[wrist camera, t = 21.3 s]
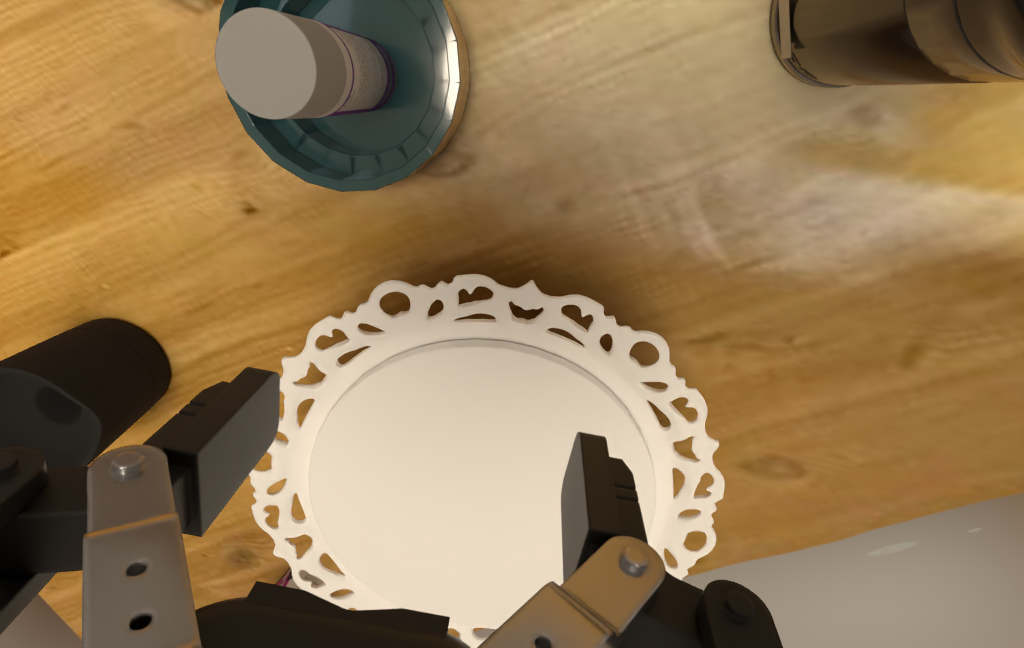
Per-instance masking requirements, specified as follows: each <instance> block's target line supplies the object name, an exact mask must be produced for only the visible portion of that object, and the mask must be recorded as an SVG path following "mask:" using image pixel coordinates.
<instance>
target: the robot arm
mask: <svg viewBox="0 0 1024 648" xmlns="http://www.w3.org/2000/svg"><path fill="white" fill-rule="evenodd" d="M770 26H771V36H772V41H773V45H774V48H775V51H776V53H777V55H778V57H779V59H780V61H781V62H782V64H783V65H784V67H785V68H786V69H787V70H788V71H789V72H790V73H791V74H792V75H793V76H795V77H796V78H797V79H799V80H801V81H803V82H805V83H807V84H810V85H814V86H818V87H828V88H832V87H846V86H852V85H909V84H956V83H991V82H1024V0H773V4H772V10H771V22H770ZM279 400H280V377H279V374H278V373H277V372H272V371H267V370H262V369H256V368H251V367H247V368H245V369H244V370H243V371H242V372H241V373H240V374H239V375H238V376H237V377H236V378H235V379H234V380H233V381H232V382H231V383H228V382H223V381H222V382H220V383H218V384H216V385H213V386H211V387H209V388H207V389H204V390H203V391H202V392H200V393H199V394H198V395H197V396H196V397H195V398H194V399H193V400H191V401H190V404H187V405H186V406H185V407H184V408H183V409H181V410H180V412H179V414H176V415H175V416H174V417H172V418H171V419H170V420H169V421H168V422H167V423H166V424H165V425H164V426H162V427H161V428H160V429H159V430H158V431H157V432H156V433H155V434H153V435H152V436H151V437H150V438H149V439H148V440H147V441H146V442H144V443H143V444H142V445H130V446H124V447H120V448H116V449H113V450H111V451H108V452H106V453H104V454H102V455H101V456H99V457H98V458H96V459H95V460H94V461H93V462H92V463H91V465H90V466H88V467H63V468H47V467H46V462H45V458H44V455H43V454H42V453H41V452H40V451H38V450H36V449H33V448H29V447H5V448H0V634H1V633H2V632H3V631H4V630H5V629H6V628H7V627H8V626H9V625H10V623H11V622H12V621H13V620H14V619H15V618H16V617H17V616H18V615H19V614H20V613H21V611H22V610H23V609H24V608H25V607H26V606H27V605H28V604H29V603H30V601H31V600H32V599H33V598H34V597H35V596H36V595H37V594H38V593H39V592H40V591H41V589H42V588H43V587H44V586H45V585H46V584H47V583H48V582H49V581H50V580H51V579H52V577H53V576H54V575H55V574H56V573H57V572H67V571H79V570H83V582H82V648H471V647H470V646H468V645H467V644H466V643H464V642H463V641H461V640H460V639H458V638H456V637H454V636H452V635H450V634H448V633H447V631H448V626H449V620H450V617H447V616H442V615H436V614H431V613H425V612H420V611H415V610H409V609H404V608H399V609H378V610H358V611H351V610H347V609H344V608H342V607H340V606H338V605H335V604H333V603H331V602H329V601H327V600H325V599H322V598H320V597H318V596H316V595H314V594H312V593H309V592H307V591H305V590H301V589H295V588H290V587H285V586H279V585H274V584H268V583H263V582H258V581H256V583H255V585H254V586H253V588H252V590H251V591H250V593H249V595H248V597H243V598H235V599H229V600H224V601H220V602H216V603H213V604H210V605H207V606H204V607H202V608H199V609H197V610H195V607H194V601H193V595H192V589H191V583H190V578H189V572H188V566H187V560H186V554H185V549H184V543H183V537H182V533H183V534H188V535H194V536H199V537H202V535H203V534H204V533H205V532H206V530H207V529H208V528H209V526H210V525H211V524H212V522H213V521H214V520H215V518H216V517H217V516H218V514H219V513H220V512H221V511H222V509H223V508H224V507H225V505H226V504H227V503H228V501H229V500H230V499H231V497H232V496H233V495H234V493H235V492H236V491H237V489H238V488H239V487H240V486H241V484H242V483H243V482H244V480H245V479H246V478H247V476H248V475H249V474H250V472H251V471H252V470H253V468H254V467H255V466H256V464H257V463H258V462H259V461H260V459H261V458H262V457H263V455H264V454H265V453H266V451H267V450H268V449H269V447H270V446H271V445H272V443H273V441H274V439H275V437H276V434H277V430H278V426H279ZM638 500H639V499H638V495H637V491H636V486H635V481H634V477H633V473H632V472H631V470H630V469H629V468H628V466H627V465H626V464H625V462H624V461H623V460H622V459H619V458H613V457H609V452H608V446H607V440H606V437H604V436H599V435H594V434H589V433H583V432H578V433H577V434H576V437H575V440H574V444H573V447H572V451H571V454H570V458H569V461H568V465H567V468H566V472H565V475H564V479H563V484H562V491H561V524H562V555H563V584H561V585H560V586H559V585H558V584H556V583H555V582H554V581H551V582H549V583H547V584H546V585H544V586H543V587H542V588H541V589H540V590H539V591H538V592H537V593H536V594H534V595H533V596H532V597H531V598H530V599H529V600H528V601H527V602H526V603H525V604H524V605H523V606H521V607H520V608H519V609H518V610H517V611H516V612H515V613H514V614H513V615H512V616H511V617H510V618H508V619H507V620H506V621H505V622H504V623H503V624H502V625H501V626H500V627H499V628H498V629H497V630H495V631H494V632H493V633H492V634H491V635H490V636H489V637H488V638H487V639H486V640H485V641H484V642H482V643H481V644H480V645H479V646H478V647H477V648H783V646H782V643H781V641H780V638H779V635H778V632H777V629H776V627H775V624H774V621H773V618H772V616H771V613H770V611H769V610H768V608H767V606H766V605H765V604H764V602H763V601H762V600H761V599H760V598H759V597H758V596H757V595H756V594H754V593H753V592H752V591H750V590H749V589H747V588H746V587H744V586H742V585H740V584H738V583H735V582H731V581H728V580H716V581H713V582H711V583H709V584H708V585H707V587H706V588H705V590H704V591H703V590H701V589H699V588H696V587H694V586H692V585H690V584H688V583H686V582H684V581H681V580H679V579H678V578H676V577H674V576H672V575H671V574H669V573H668V572H667V571H666V569H665V564H664V562H663V560H662V558H661V557H660V555H659V554H658V553H657V552H656V551H655V550H654V549H653V548H652V547H651V546H650V545H648V541H647V536H646V531H645V527H644V522H643V518H642V513H641V509H640V504H639V503H638Z"/></svg>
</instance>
